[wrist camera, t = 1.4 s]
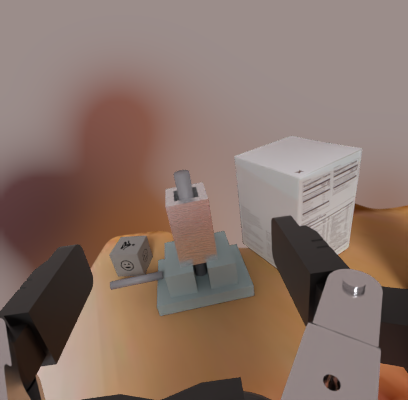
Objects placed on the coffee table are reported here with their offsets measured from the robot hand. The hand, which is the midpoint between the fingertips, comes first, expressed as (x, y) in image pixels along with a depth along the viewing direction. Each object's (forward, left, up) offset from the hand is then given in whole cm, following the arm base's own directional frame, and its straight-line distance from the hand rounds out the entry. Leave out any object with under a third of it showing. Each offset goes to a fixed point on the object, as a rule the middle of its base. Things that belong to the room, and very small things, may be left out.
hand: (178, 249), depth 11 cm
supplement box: (-17, -27, -25) cm, 40 cm away
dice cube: (+11, -30, -25) cm, 40 cm away
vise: (+3, -23, -24) cm, 33 cm away
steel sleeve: (0, -23, -18) cm, 29 cm away
